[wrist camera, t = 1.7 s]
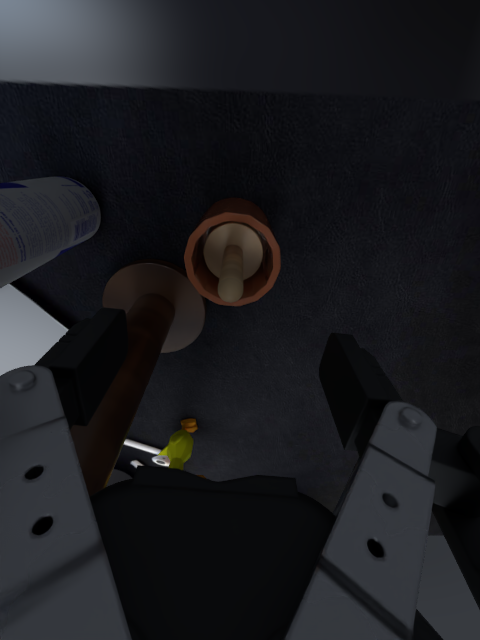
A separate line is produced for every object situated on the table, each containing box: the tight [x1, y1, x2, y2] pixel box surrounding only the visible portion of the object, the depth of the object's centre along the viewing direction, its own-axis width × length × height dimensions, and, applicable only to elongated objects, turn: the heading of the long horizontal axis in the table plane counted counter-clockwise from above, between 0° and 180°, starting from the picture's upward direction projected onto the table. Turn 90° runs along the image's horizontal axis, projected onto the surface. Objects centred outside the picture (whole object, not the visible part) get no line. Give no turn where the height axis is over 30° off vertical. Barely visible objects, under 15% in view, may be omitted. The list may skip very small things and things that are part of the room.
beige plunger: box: [203, 221, 263, 303], centre depth 20 cm, size 5×5×12 cm
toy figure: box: [158, 418, 205, 478], centre depth 33 cm, size 7×4×12 cm, turn 98°
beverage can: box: [0, 176, 101, 288], centre depth 18 cm, size 5×5×15 cm
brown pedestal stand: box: [70, 259, 207, 497], centre depth 19 cm, size 13×13×25 cm
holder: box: [184, 197, 281, 306], centre depth 23 cm, size 6×6×8 cm
